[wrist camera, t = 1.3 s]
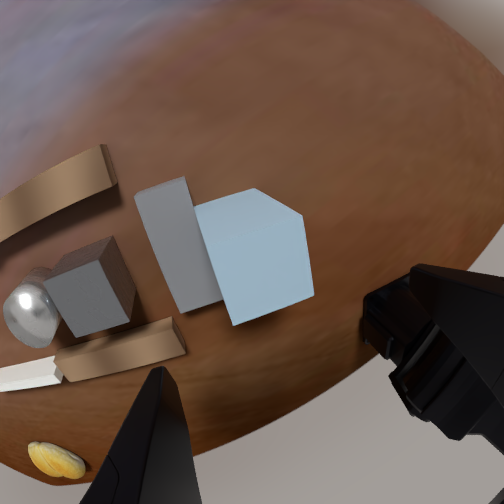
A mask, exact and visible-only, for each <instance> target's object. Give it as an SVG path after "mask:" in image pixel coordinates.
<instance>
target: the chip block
mask: <svg viewBox="0 0 504 504" xmlns="http://www.w3.org/2000/svg"><path fill="white" fill-rule="evenodd" d="M43 284H44V286H45V288H46V290H47V291H48V293H49V295H50V297H51V299H52V300H53V302H54V304H55V305H56V307H57V309H58V311H59V312H60V314H61V315H62V317H63V319H64V320H65V322H66V323H67V325H68V327H69V328H70V330H71V331H72V333H73V334H74V336H75V337H76V338H77V337H81V336H84V335H87V334H91V333H94V332H98V331H101V330H104V329H108V328H111V327H114V326H118V325H121V324H124V323H127V322H130V319H131V313H132V307H133V302H134V297H135V292H136V287H135V285H134V282H133V280H132V278H131V276H130V274H129V272H128V269H127V267H126V265H125V263H124V261H123V258H122V256H121V254H120V251H119V249H118V247H117V244H116V242H115V239H114V237H113V236H110V237H107V238H105V239H102V240H100V241H97V242H95V243H92V244H90V245H87V246H85V247H82V248H80V249H78V250H75V251H73V252H71V253H68V254H66V255H64V256H63V257H62V258H61V260H60V261H59V262H58V263H57V264H56V266H55V267H54V268H53V269H52V271H51V272H50V273H49V274H48V276H47V277H46V278H45V280H44V281H43Z"/></svg>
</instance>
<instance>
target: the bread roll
mask: <svg viewBox="0 0 504 504" xmlns="http://www.w3.org/2000/svg"><path fill="white" fill-rule="evenodd" d="M28 451H29V455H30V457H31V459H32V461H33V463H34V464H35V465H36V466H37V467H38V468H39V469H40V470H41V471H43V472H44V473H46V474H48V475H50V476H53V477H61V476H65V477H68V478H71V479H77V478H80V477H82V476H83V475H84V473H85V464H84V462H83V460H82V459H81V458H80V457H79V456H77V455H76V454H74V453H72V452H70V451H68V450H66V449H64V448H62V447H60V446H57V445H54V444H51V443H46V442H42V443H40V442H37V441H36V442H31V443H30V444H29V445H28Z"/></svg>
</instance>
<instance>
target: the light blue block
mask: <svg viewBox="0 0 504 504" xmlns="http://www.w3.org/2000/svg"><path fill="white" fill-rule="evenodd" d="M134 199H135V202H136V205H137V207H138V210H139V213H140V216H141V219H142V221H143V224H144V227H145V230H146V232H147V235H148V238H149V240H150V243H151V245H152V248H153V250H154V253H155V255H156V258H157V260H158V263H159V265H160V268H161V270H162V272H163V275H164V277H165V279H166V282H167V284H168V286H169V289H170V291H171V293H172V295H173V298H174V300H175V302H176V304H177V307H178V309H179V311H180V313H184V312H187V311H190V310H193V309H196V308H199V307H202V306H205V305H208V304H211V303H214V302H217V301H220V300H223V299H224V301H225V304H226V307H227V310H228V312H229V315H230V318H231V321H232V323H233V326H234V325H237V324H240V323H243V322H246V321H249V320H251V319H254V318H257V317H260V316H262V315H265V314H268V313H270V312H273V311H276V310H278V309H281V308H284V307H286V306H289V305H291V304H294V303H297V302H299V301H302V300H304V299H307V298H309V297H312V296H314V290H313V283H312V275H311V268H310V261H309V255H308V248H307V242H306V235H305V229H304V223H303V217H302V215H300V214H299V213H297V212H295V211H294V210H292V209H290V208H288V207H287V206H285V205H283V204H282V203H280V202H278V201H276V200H275V199H273V198H271V197H269V196H268V195H266V194H264V193H262V192H260V191H259V190H257V189H255V188H253V189H250V190H246V191H243V192H239V193H236V194H233V195H229V196H226V197H223V198H219V199H216V200H213V201H210V202H207V203H204V204H200V205H197V206H194V207H193V204H192V201H191V197H190V194H189V191H188V187H187V184H186V181H185V177H184V176H183V177H180V178H177V179H174V180H171V181H168V182H165V183H162V184H159V185H156V186H154V187H151V188H148V189H145V190H142V191H140V192H137V194H136V195H135V196H134Z"/></svg>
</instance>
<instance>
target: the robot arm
mask: <svg viewBox="0 0 504 504" xmlns="http://www.w3.org/2000/svg"><path fill="white" fill-rule="evenodd" d="M363 342H364V343H365V344H366V345H368V344H371V345H372V346H373V347H374V348H375V349H376V350H377V351H378V352H379V353H380V355H381V356H382V357H383V358H384V359H386V360H388V359H391V360H392V361H393V362H394V363H395V364H396V366H397V368H396V369H395V370H394V371H393V372H391V373H390V374H389V378H390V380H391V382H392V385H393V387H394V388H395V390H396V391H397V393H398V395H399V396H400V398H401V400H402V401H403V403H404V405H405V406H406V408H407V410H408V411H409V414H410V415H411V416H413V417H414V416H416V417H418V418H419V419H421V420H423V421H425V422H430V421H431V422H432V423H433V424H435V425H436V426H437V427H438V428H439V429H440V430H441V431H442V432H443V433H444V434H445V435H446V436H447V437H448V438H449V439H453V440H458V441H460V440H461V439H463V437H464V436H465V435H482V436H483V437H485V438H486V439H487V440H488V441H489V442H490V443H491V444H492V445H493V446H494V447H495V448H497V449H498V450H499V451H500V452H501V453H502V454H503V455H504V277H498V276H494V275H488V274H482V273H475V272H470V271H464V270H458V269H452V268H446V267H439V266H433V265H427V264H417V265H415V266H413V267H412V268H411V269H410V273H408V274H406V275H404V276H402V277H400V278H398V279H396V280H394V281H393V282H391V283H389V284H387V285H385V286H383V287H381V288H379V289H377V290H375V291H373V292H370V293H369V294H367V295H366V296H365V299H364V323H363ZM79 504H202V501H201V496H200V492H199V487H198V482H197V477H196V473H195V468H194V461H193V456H192V450H191V444H190V437H189V431H188V426H187V422H186V419H185V415H184V411H183V407H182V403H181V399H180V395H179V391H178V387H177V384H176V382H175V381H174V379H173V378H172V376H171V375H170V373H169V372H168V370H167V369H166V368H165V367H164V366H160V367H156V368H153V369H152V370H151V371H150V373H149V375H148V376H147V378H146V380H145V382H144V384H143V386H142V388H141V389H140V391H139V393H138V395H137V397H136V399H135V401H134V403H133V405H132V406H131V408H130V410H129V412H128V414H127V416H126V418H125V420H124V422H123V424H122V426H121V428H120V430H119V432H118V434H117V436H116V437H115V439H114V441H113V443H112V445H111V447H110V449H109V451H108V455H106V457H105V459H104V461H103V463H102V465H101V467H100V469H99V471H98V473H97V475H96V477H95V478H94V480H93V482H92V484H91V485H90V487H89V489H88V490H87V492H86V494H85V495H84V497H83V498H82V500H81V501H80V503H79ZM489 504H504V488H503V489H502V490H501V491H500V492H499V493H498V494H497V495H496V497H495V498H494V499H493V500H492V501H491V502H490V503H489Z"/></svg>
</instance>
